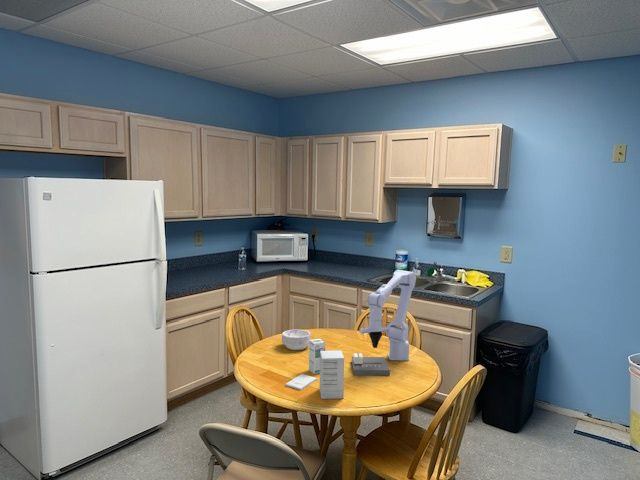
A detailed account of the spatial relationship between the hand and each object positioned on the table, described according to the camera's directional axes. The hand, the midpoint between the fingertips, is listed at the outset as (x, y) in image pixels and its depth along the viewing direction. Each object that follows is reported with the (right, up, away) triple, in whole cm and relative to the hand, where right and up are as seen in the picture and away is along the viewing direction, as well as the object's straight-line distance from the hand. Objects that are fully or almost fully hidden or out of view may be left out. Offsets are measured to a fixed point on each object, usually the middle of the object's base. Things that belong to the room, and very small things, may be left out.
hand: (374, 347), depth 207 cm
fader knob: (-8, -8, +1) cm, 11 cm away
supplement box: (-21, -13, -26) cm, 36 cm away
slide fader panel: (-2, -10, +1) cm, 11 cm away
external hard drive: (-34, -12, -16) cm, 39 cm away
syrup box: (-27, -10, -3) cm, 29 cm away
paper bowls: (-38, -7, +28) cm, 48 cm away
